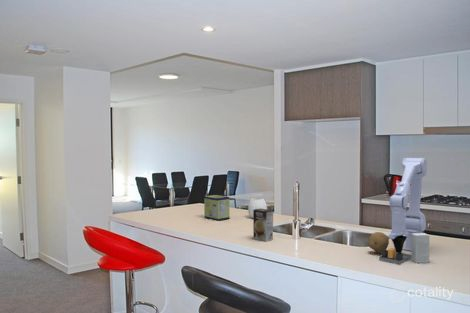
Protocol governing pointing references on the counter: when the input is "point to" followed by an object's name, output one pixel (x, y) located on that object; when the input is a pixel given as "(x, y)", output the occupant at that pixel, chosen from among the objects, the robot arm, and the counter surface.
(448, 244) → the counter surface
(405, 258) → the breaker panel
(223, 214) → the protein box
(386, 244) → the natural sponge
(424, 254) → the skincare box
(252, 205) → the cup
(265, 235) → the coffee box
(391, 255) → the block
